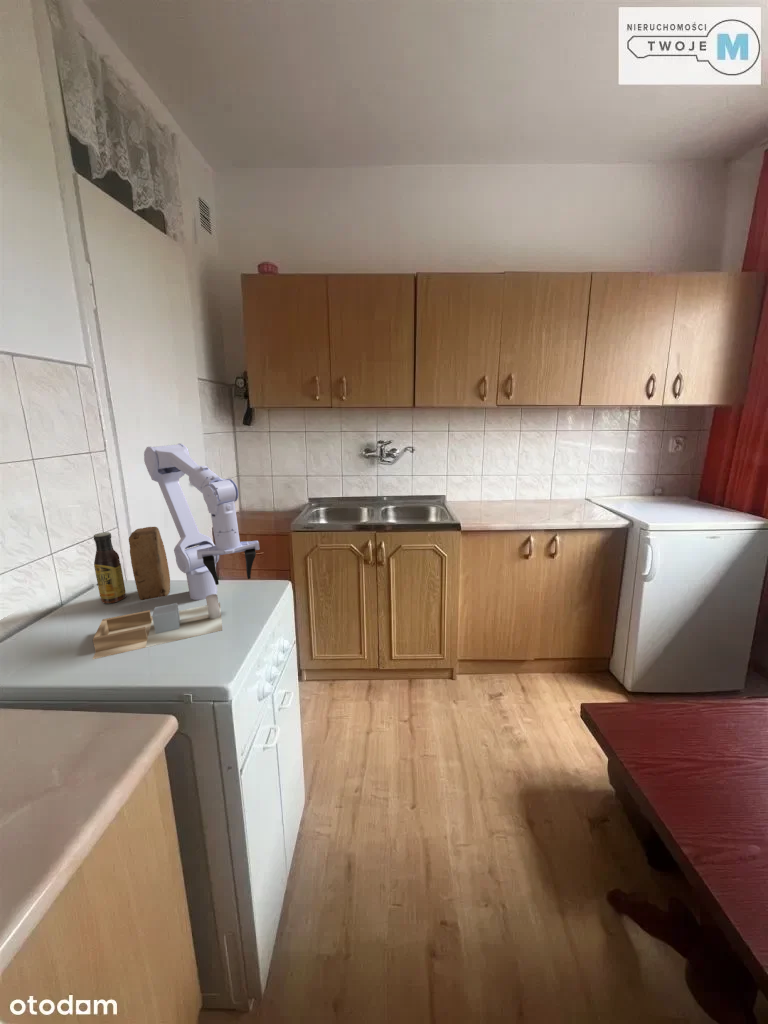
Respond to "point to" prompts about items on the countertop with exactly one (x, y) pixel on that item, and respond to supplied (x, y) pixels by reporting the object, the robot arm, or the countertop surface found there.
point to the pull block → (170, 618)
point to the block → (149, 563)
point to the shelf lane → (148, 631)
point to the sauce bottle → (108, 570)
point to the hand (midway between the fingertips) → (233, 580)
